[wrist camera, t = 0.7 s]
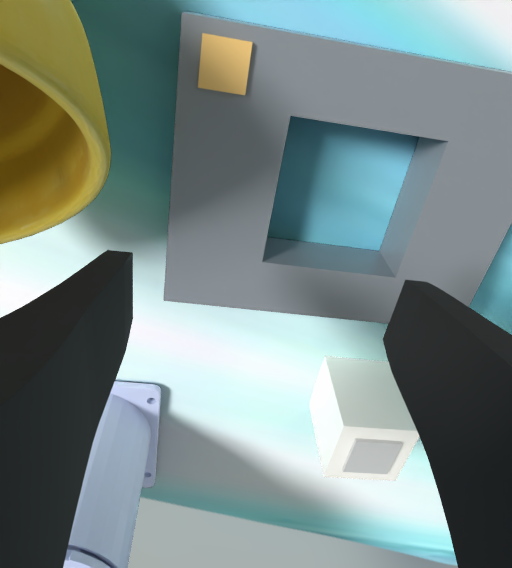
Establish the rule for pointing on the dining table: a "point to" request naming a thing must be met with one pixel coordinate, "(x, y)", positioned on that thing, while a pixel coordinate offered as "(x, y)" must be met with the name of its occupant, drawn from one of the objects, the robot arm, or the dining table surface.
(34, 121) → the plant pot
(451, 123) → the socket plate
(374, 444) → the plug block
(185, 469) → the dining table surface
